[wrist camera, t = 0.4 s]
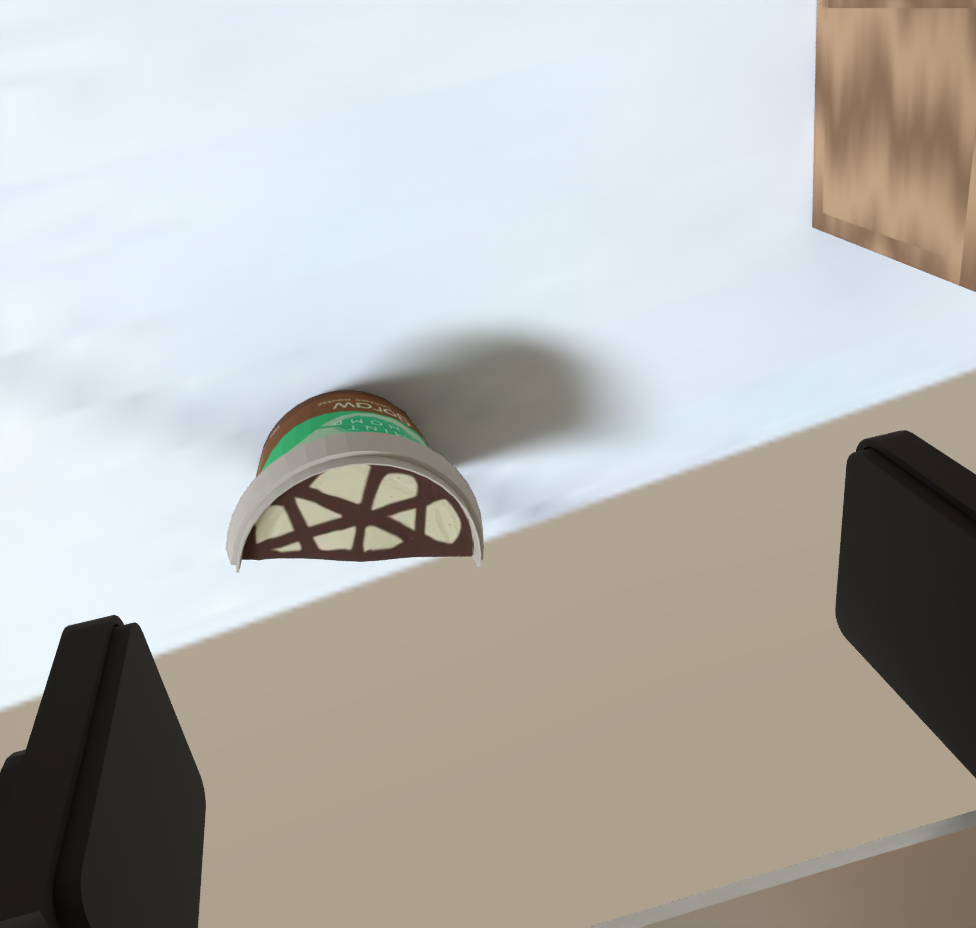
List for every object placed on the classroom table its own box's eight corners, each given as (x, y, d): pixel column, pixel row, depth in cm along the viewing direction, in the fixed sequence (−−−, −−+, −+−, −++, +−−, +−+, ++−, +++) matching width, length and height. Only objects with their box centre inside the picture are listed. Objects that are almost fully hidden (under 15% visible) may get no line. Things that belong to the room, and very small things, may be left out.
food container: (464, 374, 49) (508, 453, 40) (452, 474, 52) (491, 568, 43) (230, 364, 46) (224, 448, 37) (230, 471, 48) (224, 573, 40)
